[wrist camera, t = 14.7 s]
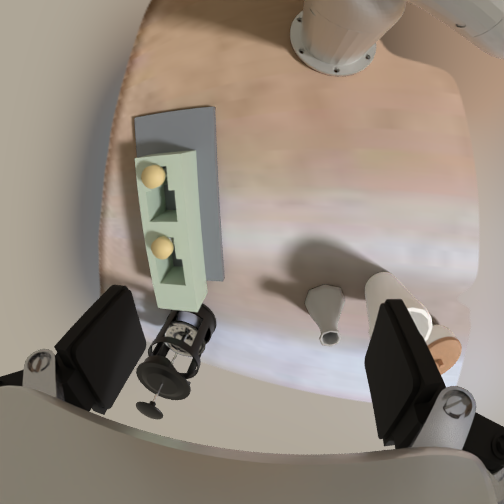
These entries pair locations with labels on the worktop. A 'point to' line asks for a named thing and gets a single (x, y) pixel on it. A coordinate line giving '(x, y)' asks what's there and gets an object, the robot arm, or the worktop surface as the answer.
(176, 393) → the french press
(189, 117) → the board
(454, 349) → the lidded jar
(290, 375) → the worktop surface
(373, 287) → the foam cup
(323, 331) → the flask
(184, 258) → the pale green slotted holder
